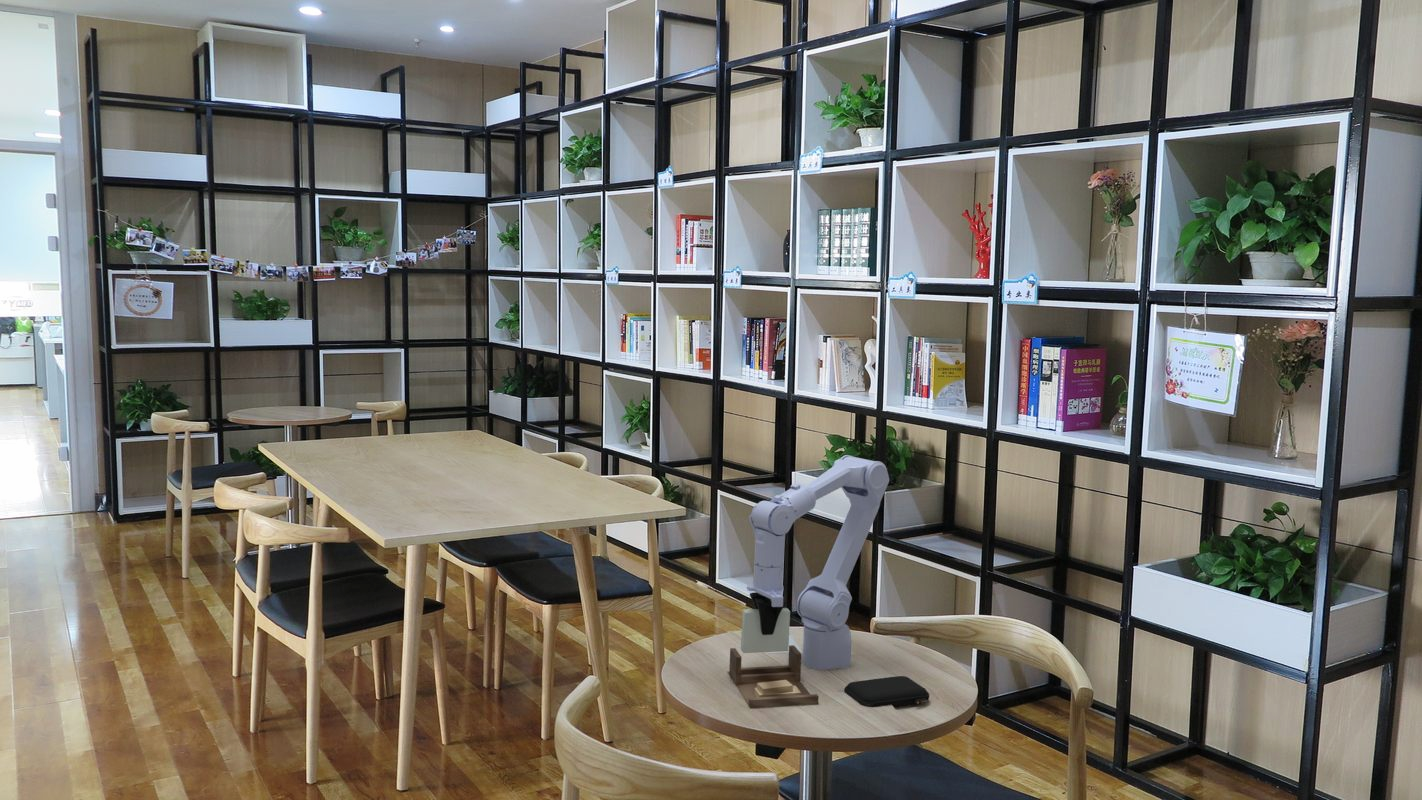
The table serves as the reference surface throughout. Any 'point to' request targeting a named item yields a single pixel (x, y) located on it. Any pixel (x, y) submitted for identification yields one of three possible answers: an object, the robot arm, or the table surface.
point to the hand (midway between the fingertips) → (765, 632)
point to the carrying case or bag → (887, 692)
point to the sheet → (764, 643)
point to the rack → (753, 675)
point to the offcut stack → (776, 689)
